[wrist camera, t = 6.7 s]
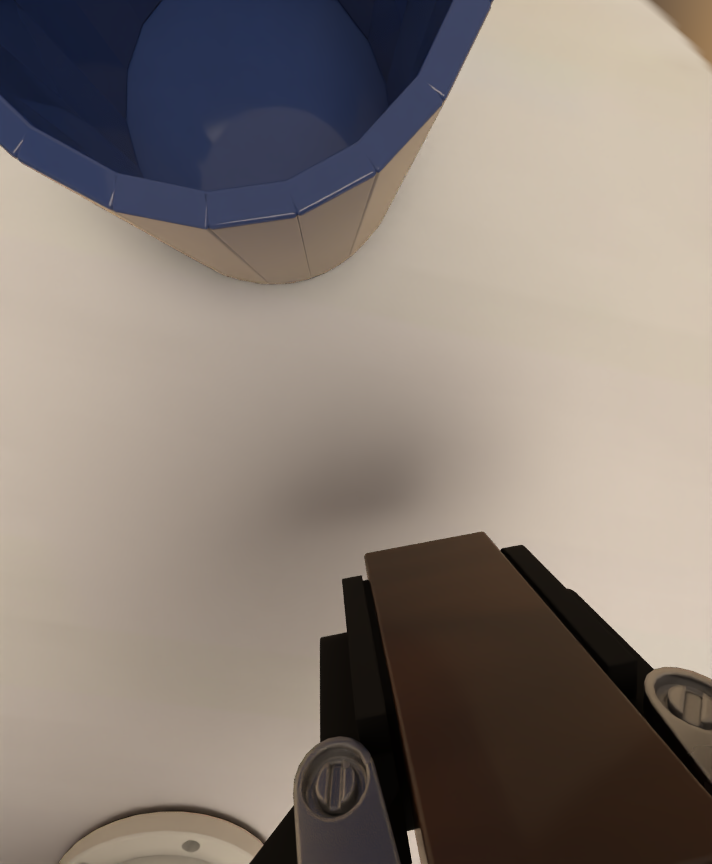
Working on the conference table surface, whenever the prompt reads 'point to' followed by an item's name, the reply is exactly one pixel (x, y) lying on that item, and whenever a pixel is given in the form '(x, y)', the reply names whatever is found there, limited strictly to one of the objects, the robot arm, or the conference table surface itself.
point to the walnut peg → (519, 724)
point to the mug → (233, 116)
